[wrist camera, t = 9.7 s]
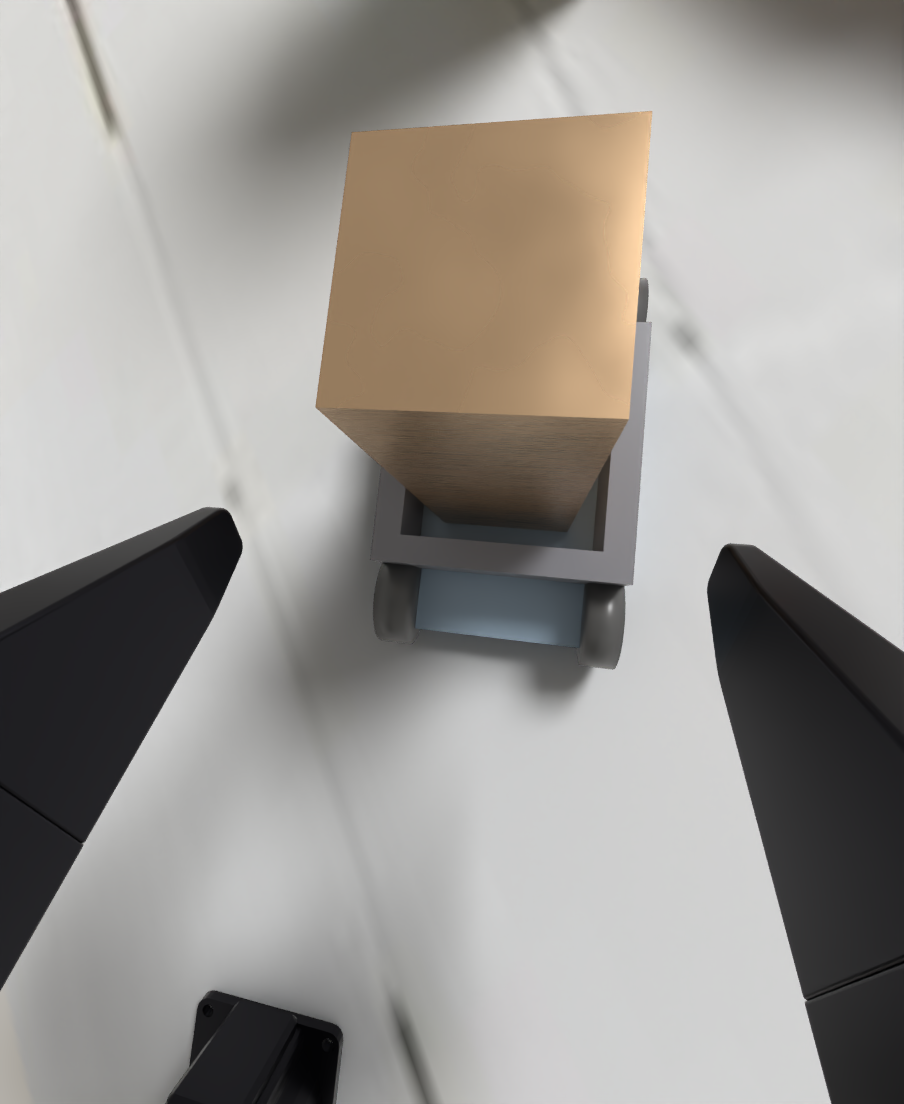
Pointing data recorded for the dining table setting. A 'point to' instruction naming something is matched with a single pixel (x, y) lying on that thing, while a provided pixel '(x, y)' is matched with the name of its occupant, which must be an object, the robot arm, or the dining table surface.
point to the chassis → (520, 557)
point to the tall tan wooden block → (489, 310)
